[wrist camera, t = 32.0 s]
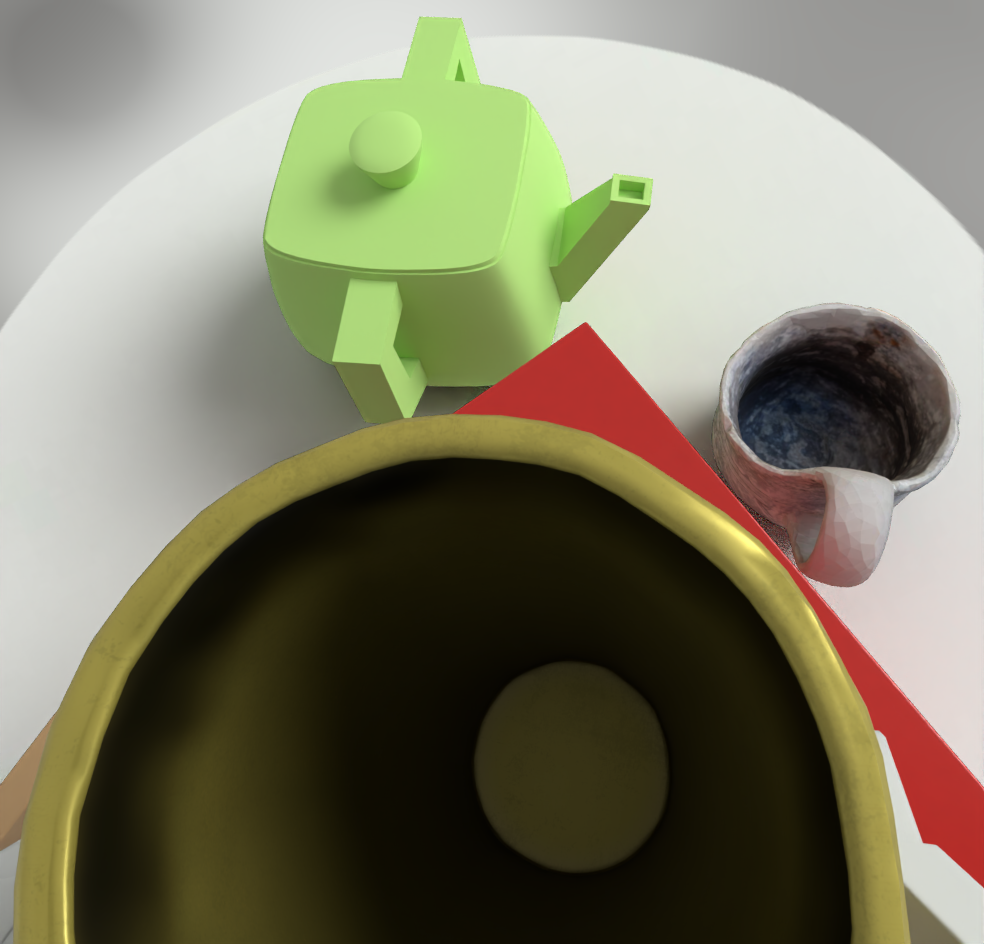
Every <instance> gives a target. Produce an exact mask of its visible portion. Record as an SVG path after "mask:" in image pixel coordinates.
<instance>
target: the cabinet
mask: <svg viewBox="0 0 984 944" xmlns="http://www.w3.org/2000/svg"><path fill="white" fill-rule="evenodd" d="M453 414H473V415H503V416H510V417H518V418H525V419H532V420H540V421H547V422H551V423H554V424H558V425H562V426H566V427H570V428H573V429H577V430H581V431H585V432H589V433H592V434H594V435H596V436H598V437H600V438H602V439H604V440H606V441H608V442H611V443H613V444H615V445H617V446H619V447H621V448H623V449H625V450H627V451H629V452H631V453H633V454H635V455H637V456H639V457H641V458H642V459H644V460H645V461H647V462H648V463H650V464H652V465H653V466H655V467H656V468H658V469H659V470H661V471H662V472H664V473H665V474H667V475H668V476H670V477H671V478H673V479H674V480H676V481H677V482H679V483H681V484H682V485H684V486H685V487H687V488H688V489H690V490H691V491H693V492H694V493H696V494H697V495H699V496H700V497H702V498H703V499H705V500H706V501H708V502H709V503H711V504H712V505H714V506H715V507H717V508H718V509H720V510H722V511H723V512H725V513H726V514H727V515H729V516H730V517H731V518H732V519H733V520H735V521H736V522H737V523H738V524H740V525H741V526H742V527H743V528H745V529H746V530H747V531H748V532H750V533H751V534H752V535H753V536H754V537H756V538H757V539H758V540H759V541H760V542H761V543H762V544H763V545H764V546H765V547H766V548H767V549H768V550H769V551H770V553H771V554H772V555H773V556H774V557H775V558H776V559H777V560H778V561H779V562H780V563H781V564H782V565H783V567H784V568H785V569H786V570H787V571H788V573H789V574H790V576H791V577H792V579H793V580H794V582H795V583H796V584H797V586H798V587H799V589H800V590H801V592H802V593H803V595H804V596H805V598H806V599H807V600H808V602H809V603H810V605H811V606H812V608H813V609H814V611H815V613H816V614H817V616H818V618H819V620H820V622H821V623H822V625H823V627H824V629H825V631H826V632H827V634H828V636H829V638H830V640H831V642H832V643H833V645H834V647H835V649H836V651H837V652H838V654H839V656H840V658H841V660H842V662H843V664H844V666H845V668H846V670H847V672H848V674H849V675H850V677H851V679H852V681H853V683H854V685H855V686H856V688H857V690H858V692H859V694H860V696H861V697H862V699H863V701H864V703H865V705H866V706H867V709H868V712H869V715H870V718H871V721H872V724H873V727H874V730H876V731H880V732H881V733H882V734H883V735H884V736H885V737H886V740H887V743H888V746H889V749H890V751H891V754H892V757H893V760H894V763H895V766H896V768H897V771H898V774H899V777H900V780H901V783H902V785H903V788H904V791H905V794H906V797H907V800H908V802H909V805H910V808H911V811H912V814H913V817H914V819H915V822H916V825H917V828H918V831H919V833H920V836H921V839H922V842H923V843H926V844H933V845H937V846H938V847H939V848H940V849H942V850H943V851H944V852H945V853H946V854H947V855H948V856H949V857H950V858H951V859H952V860H954V861H955V862H956V863H957V864H958V865H959V866H960V867H961V868H962V869H963V870H964V871H966V872H967V873H968V874H969V875H970V876H971V877H972V878H973V879H974V880H975V881H976V882H977V883H979V884H980V885H981V886H982V887H983V888H984V787H983V786H982V785H981V783H980V782H979V781H978V780H977V779H976V778H975V776H974V775H973V774H972V773H971V772H970V770H969V769H968V768H967V767H966V766H965V765H964V763H963V762H962V761H961V760H960V759H959V758H958V756H957V755H956V754H955V753H954V752H953V751H952V749H951V748H950V747H949V746H948V745H947V744H946V742H945V741H944V740H943V739H942V738H941V737H940V735H939V734H938V733H937V732H936V731H935V729H934V728H933V727H932V726H931V725H930V724H929V722H928V721H927V720H926V719H925V718H924V717H923V715H922V714H921V713H920V712H919V711H918V710H917V708H916V707H915V706H914V705H913V704H912V703H911V701H910V700H909V699H908V698H907V697H906V696H905V694H904V693H903V692H902V691H901V690H900V689H899V687H898V686H897V685H896V684H895V683H894V681H893V680H892V679H891V678H890V677H889V676H888V674H887V673H886V672H885V671H884V670H883V669H882V667H881V666H880V665H879V664H878V663H877V662H876V660H875V659H874V658H873V657H872V656H871V655H870V653H869V652H868V651H867V650H866V649H865V648H864V646H863V645H862V644H861V643H860V642H859V641H858V639H857V638H856V637H855V636H854V635H853V633H852V632H851V631H850V630H849V629H848V628H847V626H846V625H845V624H844V623H843V622H842V621H841V619H840V618H839V617H838V616H837V615H836V614H835V612H834V611H833V610H832V609H831V608H830V607H829V605H828V604H827V603H826V602H825V601H824V600H823V598H822V597H821V596H820V595H819V594H818V593H817V591H816V590H815V589H814V588H813V587H812V585H811V584H810V583H809V582H808V581H807V580H806V578H805V577H804V576H803V575H802V574H801V573H800V571H799V570H798V569H797V568H796V567H795V566H794V564H793V563H792V562H791V561H790V560H789V559H788V557H787V556H786V555H785V554H784V553H783V552H782V550H781V549H780V548H779V547H778V546H777V544H776V543H775V542H774V541H773V540H772V539H771V537H770V536H769V535H768V534H767V533H766V532H765V530H764V529H763V528H762V527H761V526H760V525H759V523H758V522H757V521H756V520H755V519H754V518H753V516H752V515H751V514H750V513H749V512H748V511H747V509H746V508H745V507H744V506H743V505H742V504H741V502H740V501H739V500H738V499H737V498H736V496H735V495H734V494H733V493H732V492H731V491H730V489H729V488H728V487H727V486H726V485H725V484H724V482H723V481H722V480H721V479H720V478H719V477H718V475H717V474H716V473H715V472H714V471H713V470H712V468H711V467H710V466H709V465H708V464H707V463H706V461H705V460H704V459H703V458H702V457H701V456H700V454H699V453H698V452H697V451H696V450H695V448H694V447H693V446H692V445H691V444H690V443H689V441H688V440H687V439H686V438H685V437H684V436H683V434H682V433H681V432H680V431H679V430H678V429H677V427H676V426H675V425H674V424H673V423H672V422H671V420H670V419H669V418H668V417H667V416H666V415H665V413H664V412H663V411H662V410H661V409H660V408H659V406H658V405H657V404H656V403H655V402H654V400H653V399H652V398H651V397H650V396H649V395H648V393H647V392H646V391H645V390H644V389H643V388H642V386H641V385H640V384H639V383H638V382H637V381H636V379H635V378H634V377H633V376H632V375H631V374H630V372H629V371H628V370H627V369H626V368H625V367H624V365H623V364H622V363H621V362H620V361H619V359H618V358H617V357H616V356H615V355H614V354H613V352H612V351H611V350H610V349H609V348H608V347H607V345H606V344H605V343H604V342H603V341H602V340H601V338H600V337H599V336H598V335H597V334H596V333H595V331H594V330H593V329H592V328H591V327H590V326H589V324H588V323H586V322H585V323H583V324H582V325H580V326H579V327H577V328H576V329H574V330H573V331H572V332H570V333H569V334H567V335H566V336H564V337H563V338H561V339H560V340H559V341H557V342H556V343H554V344H553V345H551V346H550V347H548V348H547V349H546V350H544V351H543V352H541V353H540V354H538V355H537V356H535V357H534V358H532V359H531V360H530V361H528V362H527V363H525V364H524V365H522V366H521V367H519V368H518V369H517V370H515V371H514V372H512V373H511V374H509V375H508V376H506V377H505V378H504V379H502V380H501V381H499V382H498V383H496V384H495V385H493V386H492V387H491V388H489V389H488V390H486V391H485V392H483V393H482V394H480V395H479V396H478V397H476V398H475V399H473V400H472V401H470V402H469V403H467V404H466V405H464V406H463V407H462V408H460V409H459V410H457V411H456V412H454V413H453Z"/></svg>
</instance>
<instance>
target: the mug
mask: <svg viewBox="0 0 984 944" xmlns="http://www.w3.org/2000/svg"><path fill="white" fill-rule="evenodd" d="M960 416H961V411H960V400H959V397H958V395H957V392H956V389H955V387H954V384H953V382H952V380H951V378H950V376H949V374H948V372H947V370H946V367H945V365H944V363H943V361H942V359H941V357H940V355H939V354H938V353H937V352H936V351H935V350H934V349H933V348H932V347H931V346H930V345H929V344H928V343H927V342H926V341H925V340H924V339H923V338H922V337H921V336H920V335H919V334H918V333H917V332H915V331H914V330H913V329H912V328H911V327H910V326H908V325H907V324H906V323H904V322H903V321H901V320H900V319H898V318H897V317H895V316H893V315H891V314H889V313H887V312H884V311H882V310H880V309H875V308H871V307H870V308H864V307H862V306H856V305H849V304H842V303H825V304H819V305H815V306H810V307H804V308H800V309H796V310H793V311H789V312H786V313H785V314H783V315H782V316H780V317H778V318H777V319H775V320H773V321H772V322H770V323H768V324H766V325H764V326H762V327H761V328H759V329H758V330H757V331H755V332H754V333H753V334H752V335H751V336H750V337H748V338H747V339H746V340H745V341H744V342H743V344H742V346H741V348H739V349H738V350H737V351H736V352H735V353H734V354H733V355H732V356H731V357H730V359H729V360H728V362H727V364H726V366H725V368H724V371H723V375H722V379H721V383H720V394H719V404H718V407H717V409H716V412H715V416H714V420H713V427H712V435H711V439H712V449H713V454H714V457H715V461H716V464H717V466H718V468H719V470H720V471H721V473H722V475H723V477H724V478H725V480H726V482H727V483H728V485H729V486H730V487H731V489H732V490H733V491H734V493H735V494H736V495H737V496H738V497H739V498H740V499H741V500H743V502H745V503H746V504H747V505H748V506H750V507H751V508H752V509H753V510H754V511H755V512H757V513H759V514H760V515H762V516H763V517H765V518H766V519H768V520H770V521H772V522H774V523H776V524H778V525H780V526H782V527H784V528H786V529H787V532H788V535H789V538H790V543H791V547H792V552H793V556H794V558H795V561H796V564H797V566H798V568H799V571H801V572H802V573H803V574H805V575H806V576H807V577H809V578H811V579H813V580H815V581H819V582H822V583H825V584H828V585H831V586H839V587H852V586H856V585H859V584H861V583H862V582H864V581H866V580H867V579H868V578H869V576H870V575H871V574H872V573H873V571H874V570H875V569H876V567H877V565H878V563H879V561H880V558H881V556H882V553H883V550H884V547H885V544H886V541H887V538H888V534H889V529H890V523H891V517H892V512H893V508H894V507H895V506H896V505H897V504H898V503H899V502H900V501H902V500H903V499H904V498H905V497H906V496H907V495H908V494H909V493H910V492H912V491H915V490H918V489H919V488H921V487H923V486H924V485H926V484H928V483H929V482H930V481H932V480H933V479H934V478H935V477H936V476H937V475H938V474H939V473H940V472H941V470H942V469H943V468H944V467H945V466H946V464H947V463H948V462H949V460H950V457H951V455H952V453H953V451H954V448H955V446H956V444H957V441H958V439H959V428H958V424H959V420H960Z"/></svg>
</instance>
